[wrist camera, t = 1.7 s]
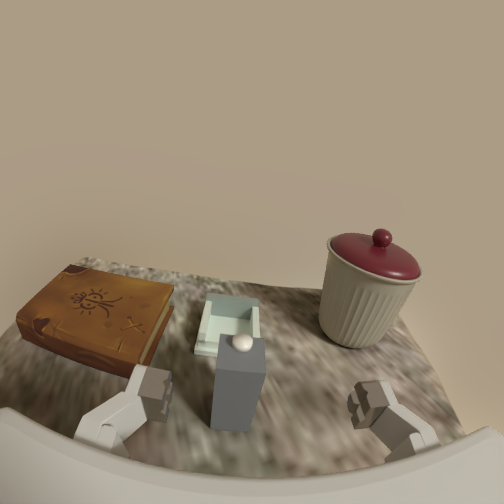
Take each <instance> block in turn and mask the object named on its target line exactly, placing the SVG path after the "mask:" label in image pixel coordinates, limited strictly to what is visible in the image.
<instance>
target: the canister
mask: <svg viewBox="0 0 504 504" xmlns="http://www.w3.org/2000/svg"><path fill="white" fill-rule="evenodd" d="M391 242H392V235H391V233H390V232H389V231H387V230H385V229H377V230H375V231H374V233H373V235H372V236H370V235H365V234H359V233H344V234H341V235H338V236H334V237H331V238H330V239H329V240H328V241H327V248H328V250H329V254H328V260H327V266H326V272H325V278H324V283H323V289H322V295H321V301H320V307H319V323H320V326H321V328H322V330H323V332H324V333H325V334H326V335H327V336H328V337H329V338H330V339H332V340H333V341H335V342H336V343H337V344H340V345H342V346H345V347H350V348H355V349H357V348H359V349H362V348H367V347H370V346H372V345H374V344H376V343H377V342H378V341H379V340H380V339H381V338H382V337H383V336H384V334H385V333H386V332H387V330H388V329H389V327H390V326H391V324H392V323H393V321H394V320H395V318H396V316H397V315H398V313H399V312H400V310H401V308H402V307H403V305H404V303H405V301H406V300H407V298H408V296H409V294H410V293H411V291H412V289H413V287H414V285H415V283H416V282H418V281H420V280H421V279H422V277H423V271H422V269H421V267H420V266H419V265H418V263H417V261H416V260H415V258H414V257H413V256H412V255H411V254H409V253H408V252H407V251H405V250H404V249H402V248H400V247H399V246H397V245H395V244H393V243H391Z"/></svg>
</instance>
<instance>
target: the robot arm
mask: <svg viewBox="0 0 504 504" xmlns="http://www.w3.org/2000/svg"><path fill="white" fill-rule="evenodd" d="M171 378H172V373H171V371H167V370H162V369H157V368H153V367H148V366H144V365H139V364H137V365H136V366H135V367H134V370H133V372H132V374H131V377H130V379H129V382H128V384H127V387H126V390H125V392H122V391H121V392H120V393H118V394H117V395H115V396H114V397H112V398H111V399H109V400H107V401H106V402H104V403H103V404H101V405H100V406H98V407H96V408H95V409H93V410H92V411H90V412H89V413H87V414H85V415H84V416H83V417H82V419H81V421H80V423H79V426H78V428H77V430H76V433H75V435H74V438H73V439H71V438H68V437H66V436H64V435H62V434H59V433H57V432H55V431H53V430H51V429H49V428H47V427H45V426H43V425H41V424H39V423H37V422H35V421H33V420H31V419H30V418H28V417H26V416H24V415H23V414H21V413H19V412H18V411H16V410H14V409H12V408H10V407H4V408H0V504H504V436H503V435H501V434H500V433H499V432H497V431H496V430H494V429H492V428H490V427H488V426H486V427H482V428H480V429H478V430H476V431H474V432H472V433H470V434H468V435H466V436H463V437H461V438H459V439H457V440H454V441H452V442H449V443H447V444H444V445H442V446H441V445H440V442H439V440H438V438H437V436H436V433H435V431H434V429H433V427H432V426H430V425H429V424H427V423H426V422H425V421H423V420H422V419H421V418H419V417H418V416H417V415H415V414H414V413H412V412H411V411H410V410H408V409H407V408H406V407H404V406H403V405H402V404H398V402H397V399H396V397H395V395H394V393H393V391H392V388H391V386H390V384H389V382H388V381H387V380H377V381H376V380H375V381H363V382H358V383H356V385H355V386H354V388H355V390H354V391H353V392H351V393H350V395H349V397H348V401H347V407H348V410H349V412H350V413H352V414H353V415H352V417H351V421H352V424H353V427H354V429H363V428H369V429H370V430H371V431H372V432H373V433H374V434H375V435H376V436H377V437H378V438H379V439H380V440H381V441H382V442H383V443H384V444H385V445H386V446H387V447H388V448H389V449H390V450H391V451H392V452H391V453H390V454H389V455H388V456H387V457H386V458H385V459H384V460H385V463H384V464H380V465H376V466H371V467H366V468H361V469H356V470H350V471H344V472H338V473H330V474H322V475H312V476H299V477H275V478H257V477H233V476H220V475H210V474H201V473H194V472H187V471H181V470H175V469H170V468H165V467H160V466H155V465H151V464H147V463H143V462H139V461H135V460H131V459H129V455H130V454H129V453H128V451H127V449H126V447H125V446H124V444H123V441H124V440H126V439H127V438H128V437H129V436H130V435H131V434H132V433H133V432H135V431H136V430H137V429H138V428H139V427H140V426H141V425H142V424H144V423H145V422H146V421H147V419H148V420H153V421H159V422H164V423H166V421H167V417H168V413H169V408H168V404H170V403H171V400H172V393H173V383H172V382H171Z"/></svg>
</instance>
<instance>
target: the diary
mask: <svg viewBox="0 0 504 504" xmlns="http://www.w3.org/2000/svg"><path fill="white" fill-rule="evenodd" d="M173 290H174V285H170V284H165V283H159V282H154V281H148V280H143V279H138V278H132V277H127V276H122V275H117V274H113V273H108V272H103V271H98V270H94V269H89V268H84V267H80V266H75V265H71V264H70V265H69V266H68V267H67V268H66V269H64V270H63V271H62V272H61V273H60V274H59V275H57V276H56V277H55V278H54V279H53V280H52V281H51V282H49V283H48V284H47V285H46V286H45V287H44V288H43V289H42V290H41V291H40V292H38V293H37V294H36V295H35V296H34V297H33V298H32V299H31V300H30V301H29V302H28V303H27V304H26V305H25V306H24V307H23V308H22V309H21V310H20V311H19V312H18V313H17V316H16V322H17V325H18V328H19V330H20V333H21V335H22V338H23V339H25V340H27V341H29V342H32V343H34V344H36V345H38V346H40V347H42V348H45V349H47V350H49V351H52V352H54V353H56V354H59V355H61V356H64V357H66V358H69V359H71V360H74V361H76V362H79V363H82V364H85V365H87V366H90V367H93V368H96V369H99V370H102V371H105V372H108V373H111V374H114V375H118V376H121V377H125V378H128V379H130V377H131V374H132V372H133V370H134V367H135V366H136V365H137V364H139V365H144V366H148V367H149V365H150V362H151V360H152V358H153V355H154V353H155V350H156V348H157V346H158V343H159V341H160V339H161V336H162V334H163V332H164V330H165V327H166V325H167V323H168V321H169V318H170V316H171V314H172V312H173V309H174V306H169V298H170V296H171V294H172V292H173Z"/></svg>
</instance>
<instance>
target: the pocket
mask: <svg viewBox="0 0 504 504" xmlns="http://www.w3.org/2000/svg"><path fill="white" fill-rule="evenodd" d="M258 306H259V299H254V298H245V297H237V296H229V295H222V294H214V293H207V297H206V304H205V308H204V309H203V314H202V318H201V322H200V327H199V331H198V335H197V340H196V344H195V349H194V354H197V355H204V356H211V357H217V354H218V346H219V338H220V333H221V334H229V335H236V334H240V333H243V334H247V335H249V336H250V337H255V338H260V331H259V311H258Z"/></svg>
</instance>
